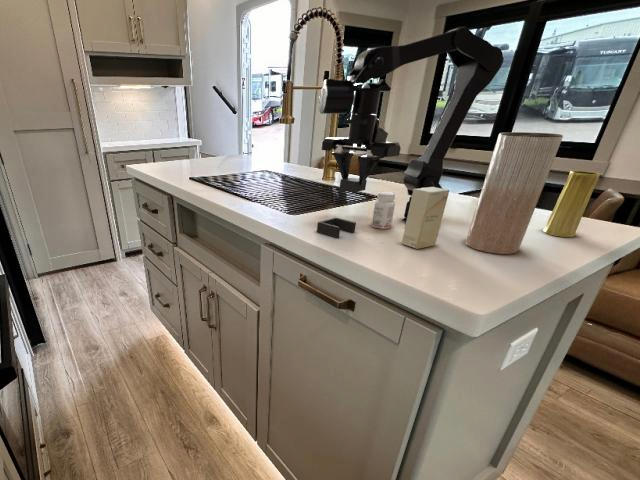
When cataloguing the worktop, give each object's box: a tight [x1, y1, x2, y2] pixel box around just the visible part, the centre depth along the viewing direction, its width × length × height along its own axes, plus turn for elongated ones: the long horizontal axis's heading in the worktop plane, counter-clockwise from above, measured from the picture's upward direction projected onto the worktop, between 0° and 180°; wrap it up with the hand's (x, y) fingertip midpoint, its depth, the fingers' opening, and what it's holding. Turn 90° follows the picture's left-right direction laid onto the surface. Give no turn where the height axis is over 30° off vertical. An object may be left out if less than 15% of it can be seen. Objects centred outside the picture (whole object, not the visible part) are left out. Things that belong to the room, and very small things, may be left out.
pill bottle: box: [371, 191, 396, 230], centre depth 91 cm, size 5×5×8 cm
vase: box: [543, 170, 601, 238], centre depth 84 cm, size 6×6×14 cm
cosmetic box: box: [401, 187, 450, 250], centre depth 78 cm, size 6×4×12 cm
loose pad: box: [338, 177, 368, 193], centre depth 91 cm, size 5×5×2 cm
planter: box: [465, 131, 564, 255], centre depth 74 cm, size 10×10×23 cm
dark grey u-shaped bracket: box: [316, 216, 357, 239], centre depth 88 cm, size 6×7×2 cm
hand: (353, 183), depth 90 cm, fingers closed on loose pad, 4 cm apart
